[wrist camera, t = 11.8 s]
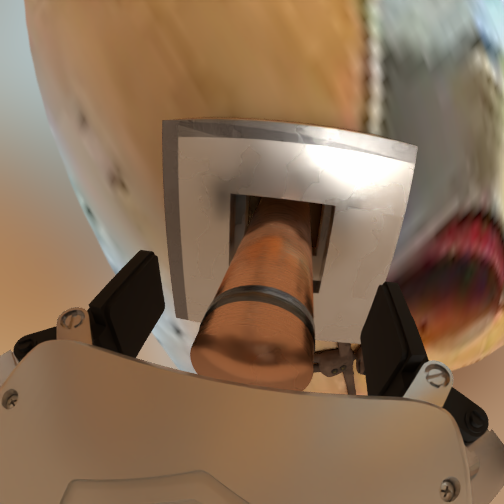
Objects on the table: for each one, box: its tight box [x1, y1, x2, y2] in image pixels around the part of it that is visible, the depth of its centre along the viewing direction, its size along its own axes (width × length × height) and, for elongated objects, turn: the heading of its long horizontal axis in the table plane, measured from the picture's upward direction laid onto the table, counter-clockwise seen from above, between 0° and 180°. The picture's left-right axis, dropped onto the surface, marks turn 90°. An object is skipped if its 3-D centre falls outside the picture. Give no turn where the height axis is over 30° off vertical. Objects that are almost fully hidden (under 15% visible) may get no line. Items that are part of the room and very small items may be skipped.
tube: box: [190, 197, 315, 391], centre depth 16 cm, size 4×4×17 cm
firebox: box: [162, 117, 417, 344], centre depth 20 cm, size 14×14×8 cm
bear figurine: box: [313, 342, 365, 395], centre depth 30 cm, size 18×4×14 cm
